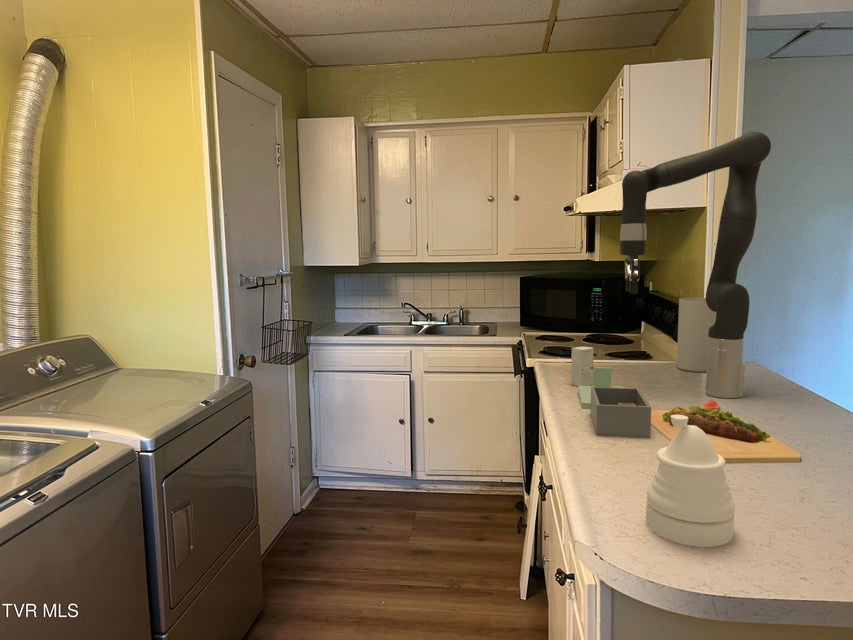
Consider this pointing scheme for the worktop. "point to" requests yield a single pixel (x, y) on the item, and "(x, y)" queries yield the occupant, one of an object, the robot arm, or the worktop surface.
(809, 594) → the worktop surface
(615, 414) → the tub
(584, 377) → the skincare box
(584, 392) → the lid
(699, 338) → the cylinder vase
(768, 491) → the worktop surface
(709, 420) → the cutting board
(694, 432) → the honey pot
